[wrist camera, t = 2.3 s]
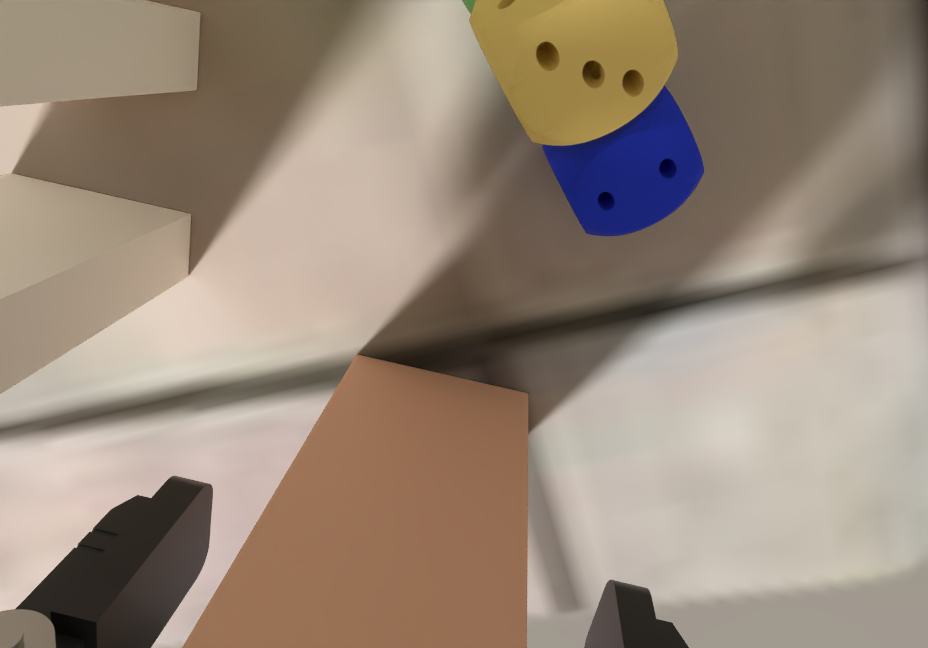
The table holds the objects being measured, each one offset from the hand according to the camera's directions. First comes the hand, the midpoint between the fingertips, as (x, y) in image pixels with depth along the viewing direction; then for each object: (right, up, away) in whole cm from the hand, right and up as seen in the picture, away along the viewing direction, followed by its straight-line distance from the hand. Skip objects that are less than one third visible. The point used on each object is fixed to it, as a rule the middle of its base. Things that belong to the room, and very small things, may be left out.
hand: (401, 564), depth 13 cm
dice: (+4, +11, +3) cm, 12 cm away
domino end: (0, +3, +6) cm, 7 cm away
